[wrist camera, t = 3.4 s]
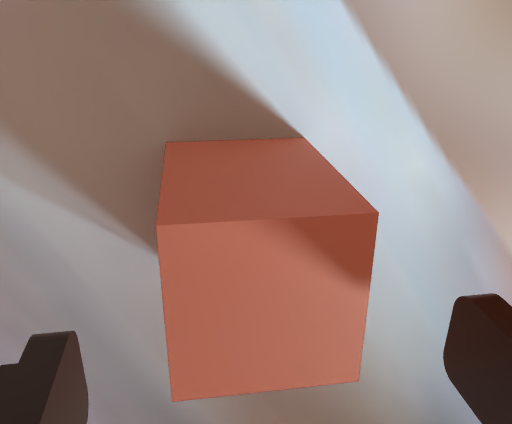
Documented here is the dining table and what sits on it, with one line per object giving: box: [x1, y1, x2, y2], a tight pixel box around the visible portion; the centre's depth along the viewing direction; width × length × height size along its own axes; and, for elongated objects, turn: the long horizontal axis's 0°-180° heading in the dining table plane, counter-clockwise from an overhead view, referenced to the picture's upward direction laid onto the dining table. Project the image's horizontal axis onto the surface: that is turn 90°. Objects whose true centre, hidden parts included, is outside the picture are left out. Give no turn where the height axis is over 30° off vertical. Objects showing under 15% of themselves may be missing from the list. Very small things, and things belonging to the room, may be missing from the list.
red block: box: [156, 138, 379, 402], centre depth 14 cm, size 5×5×7 cm
